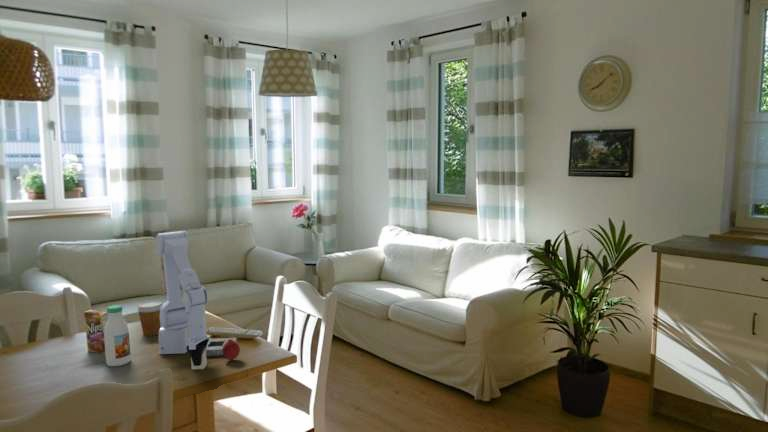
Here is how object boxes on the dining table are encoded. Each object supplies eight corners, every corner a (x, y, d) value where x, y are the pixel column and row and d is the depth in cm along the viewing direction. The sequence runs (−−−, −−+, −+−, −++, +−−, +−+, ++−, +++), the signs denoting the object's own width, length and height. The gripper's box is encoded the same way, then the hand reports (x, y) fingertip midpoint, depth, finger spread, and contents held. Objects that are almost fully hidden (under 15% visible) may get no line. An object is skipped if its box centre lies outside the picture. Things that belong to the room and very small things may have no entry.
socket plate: (195, 357, 197) (195, 350, 197) (203, 345, 209) (203, 339, 208) (230, 355, 198) (229, 349, 197) (236, 344, 210) (236, 337, 209)
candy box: (86, 352, 204) (83, 311, 202) (96, 348, 208) (93, 308, 206) (105, 355, 200) (101, 313, 199) (114, 350, 204) (111, 310, 203)
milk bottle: (106, 368, 188) (102, 311, 185) (106, 361, 195) (101, 305, 192) (131, 364, 191) (127, 307, 189) (130, 357, 198) (126, 302, 196)
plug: (191, 369, 186) (190, 352, 185) (194, 364, 190) (193, 347, 189) (203, 368, 186) (202, 351, 186) (206, 364, 190) (205, 347, 190)
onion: (243, 358, 195) (242, 336, 194) (233, 364, 190) (232, 341, 189) (229, 356, 197) (228, 334, 196) (219, 362, 192) (218, 340, 191)
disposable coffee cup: (143, 329, 228) (141, 301, 226) (167, 328, 229) (165, 300, 227) (135, 337, 219) (133, 308, 217) (160, 336, 220) (158, 306, 218)
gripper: (203, 330, 179) (206, 370, 181) (213, 316, 194) (215, 354, 195) (181, 331, 179) (183, 371, 181) (193, 317, 193) (195, 355, 195)
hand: (199, 362), depth 188 cm, fingers closed on plug, 4 cm apart
